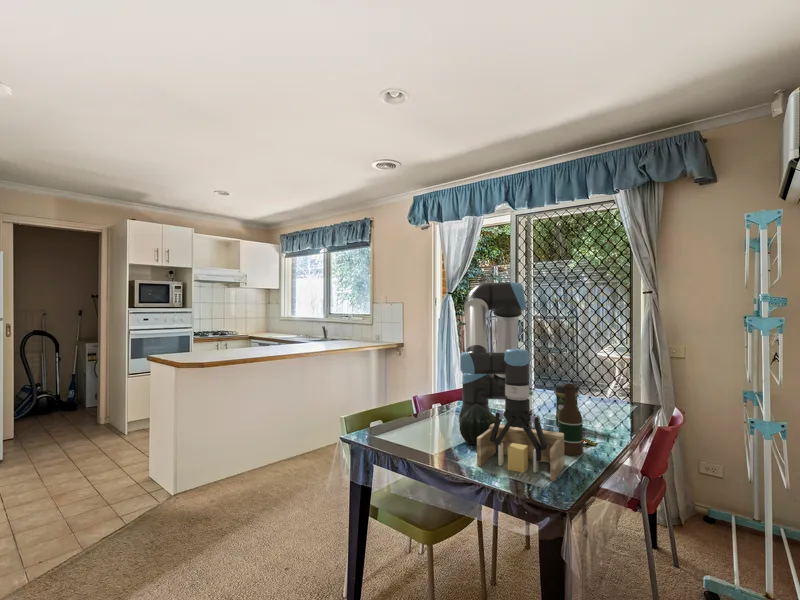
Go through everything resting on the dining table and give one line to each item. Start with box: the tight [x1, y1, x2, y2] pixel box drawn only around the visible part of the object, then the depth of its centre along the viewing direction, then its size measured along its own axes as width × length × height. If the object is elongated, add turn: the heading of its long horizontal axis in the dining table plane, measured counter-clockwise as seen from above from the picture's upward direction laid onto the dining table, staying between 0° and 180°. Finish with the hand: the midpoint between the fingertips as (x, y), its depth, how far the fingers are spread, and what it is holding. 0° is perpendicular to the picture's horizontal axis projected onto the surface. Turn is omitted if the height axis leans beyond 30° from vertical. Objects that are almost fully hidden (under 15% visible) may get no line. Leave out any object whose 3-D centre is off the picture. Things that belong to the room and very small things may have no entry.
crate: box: [476, 423, 565, 482], centre depth 135 cm, size 24×16×10 cm, turn 59°
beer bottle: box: [558, 383, 584, 457], centre depth 147 cm, size 8×8×24 cm
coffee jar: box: [554, 382, 579, 428], centre depth 181 cm, size 10×8×19 cm
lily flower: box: [583, 431, 596, 448], centre depth 158 cm, size 12×12×5 cm
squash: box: [459, 404, 496, 445], centre depth 159 cm, size 14×15×15 cm
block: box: [507, 443, 529, 473], centre depth 132 cm, size 5×5×7 cm
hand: (518, 467), depth 132 cm, fingers open, 10 cm apart
